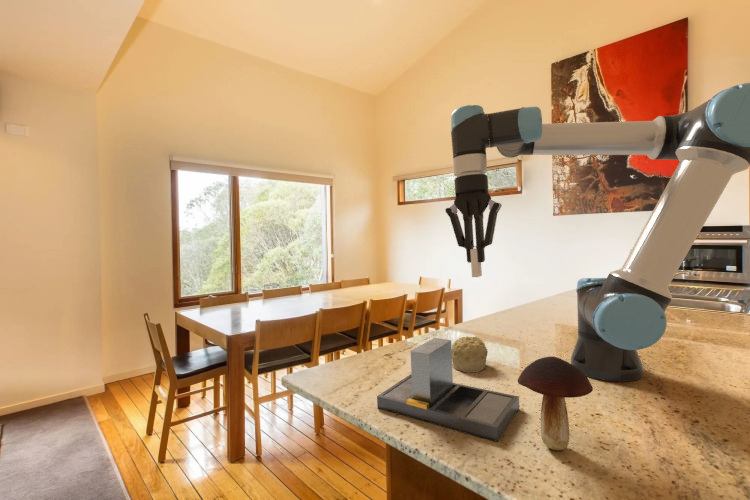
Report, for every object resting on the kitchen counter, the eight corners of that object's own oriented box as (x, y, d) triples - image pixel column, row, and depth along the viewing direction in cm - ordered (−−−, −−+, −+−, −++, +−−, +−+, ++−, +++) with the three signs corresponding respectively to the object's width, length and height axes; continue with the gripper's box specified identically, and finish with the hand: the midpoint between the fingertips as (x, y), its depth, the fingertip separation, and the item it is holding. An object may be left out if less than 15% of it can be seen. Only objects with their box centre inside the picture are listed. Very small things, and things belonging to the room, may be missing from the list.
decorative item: (475, 387, 95) (498, 357, 94) (442, 364, 96) (465, 333, 95) (472, 374, 104) (494, 346, 103) (443, 352, 106) (464, 324, 104)
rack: (519, 408, 75) (518, 392, 75) (496, 442, 64) (496, 423, 63) (411, 384, 89) (410, 370, 89) (377, 408, 78) (376, 392, 78)
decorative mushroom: (508, 433, 66) (506, 349, 65) (568, 428, 67) (566, 345, 66) (541, 472, 55) (538, 372, 55) (611, 465, 56) (610, 366, 55)
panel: (453, 394, 81) (451, 340, 81) (430, 414, 73) (428, 353, 72) (436, 391, 84) (434, 337, 83) (413, 410, 75) (410, 350, 75)
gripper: (503, 173, 87) (509, 274, 88) (450, 181, 94) (456, 274, 95) (494, 169, 81) (501, 278, 82) (438, 178, 88) (444, 278, 89)
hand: (476, 276), depth 88 cm, fingers closed
